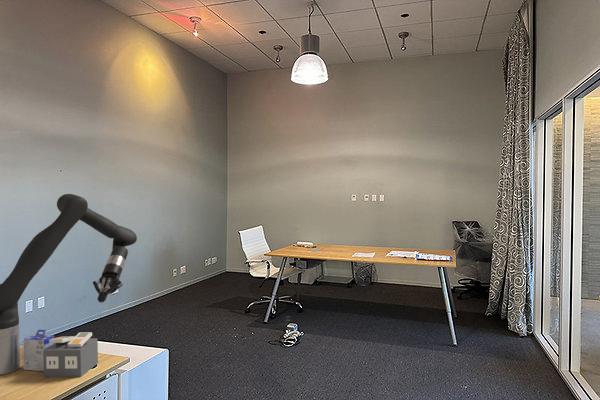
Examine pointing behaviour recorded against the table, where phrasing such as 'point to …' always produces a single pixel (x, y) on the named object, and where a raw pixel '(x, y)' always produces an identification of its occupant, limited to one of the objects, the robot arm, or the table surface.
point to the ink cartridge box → (35, 350)
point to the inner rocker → (61, 339)
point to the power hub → (70, 359)
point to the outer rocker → (80, 339)
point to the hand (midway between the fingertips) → (100, 301)
